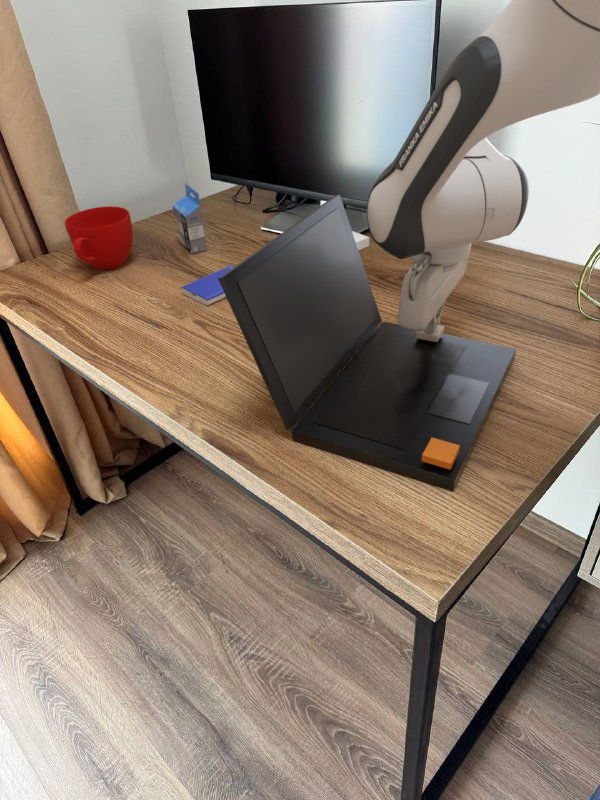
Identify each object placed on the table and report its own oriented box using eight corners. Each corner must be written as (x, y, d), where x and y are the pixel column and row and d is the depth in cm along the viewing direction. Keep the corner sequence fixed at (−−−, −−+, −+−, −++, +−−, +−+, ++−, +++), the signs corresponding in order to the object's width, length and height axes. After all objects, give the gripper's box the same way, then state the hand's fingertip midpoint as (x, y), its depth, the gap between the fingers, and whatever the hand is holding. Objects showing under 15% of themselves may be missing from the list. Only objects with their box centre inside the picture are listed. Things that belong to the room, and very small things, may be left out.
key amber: (459, 451, 68) (460, 445, 68) (450, 470, 66) (451, 463, 65) (431, 443, 70) (431, 437, 69) (421, 461, 67) (422, 454, 67)
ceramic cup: (57, 284, 118) (41, 236, 112) (95, 250, 131) (82, 206, 125) (117, 285, 116) (103, 237, 110) (149, 251, 129) (139, 206, 123)
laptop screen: (340, 193, 86) (335, 195, 86) (223, 277, 65) (217, 278, 66) (382, 321, 95) (377, 322, 95) (291, 429, 74) (286, 429, 75)
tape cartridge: (178, 241, 132) (167, 186, 125) (194, 237, 134) (185, 182, 126) (191, 254, 126) (181, 197, 119) (208, 250, 127) (199, 193, 120)
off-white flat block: (444, 331, 90) (444, 326, 89) (436, 342, 88) (437, 336, 87) (422, 327, 91) (423, 321, 91) (415, 337, 89) (415, 332, 88)
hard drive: (231, 264, 117) (180, 286, 110) (258, 274, 112) (206, 298, 105) (232, 271, 118) (181, 293, 111) (259, 282, 113) (207, 306, 106)
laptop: (514, 358, 87) (516, 348, 86) (453, 491, 66) (454, 479, 65) (382, 331, 96) (382, 320, 95) (292, 440, 75) (291, 429, 74)
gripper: (435, 274, 72) (428, 368, 80) (481, 218, 86) (470, 303, 94) (387, 266, 75) (385, 358, 83) (439, 213, 89) (432, 296, 97)
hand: (431, 328), depth 89 cm, fingers closed
